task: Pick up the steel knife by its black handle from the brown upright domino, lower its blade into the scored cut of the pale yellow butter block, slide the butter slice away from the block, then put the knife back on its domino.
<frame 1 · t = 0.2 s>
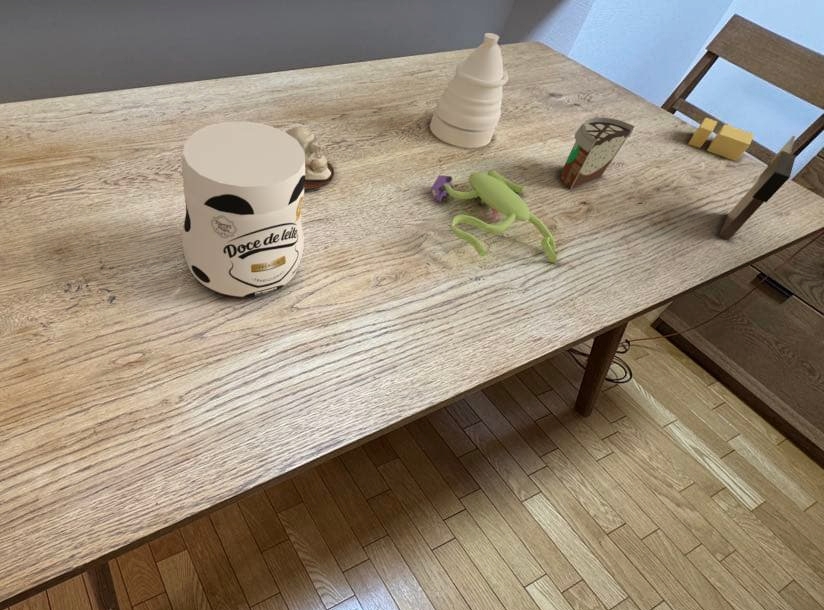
knife: (762, 188, 87), point 8 cm above the table, touching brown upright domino
figurine: (487, 227, 89), on the table
milk container: (243, 269, 78), on the table
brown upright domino: (726, 229, 94), on the table
food container: (571, 178, 101), on the table
butter block: (722, 152, 111), on the table
cream carved statuette: (300, 174, 94), on the table
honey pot: (459, 134, 107), on the table
butter slice: (695, 142, 113), on the table
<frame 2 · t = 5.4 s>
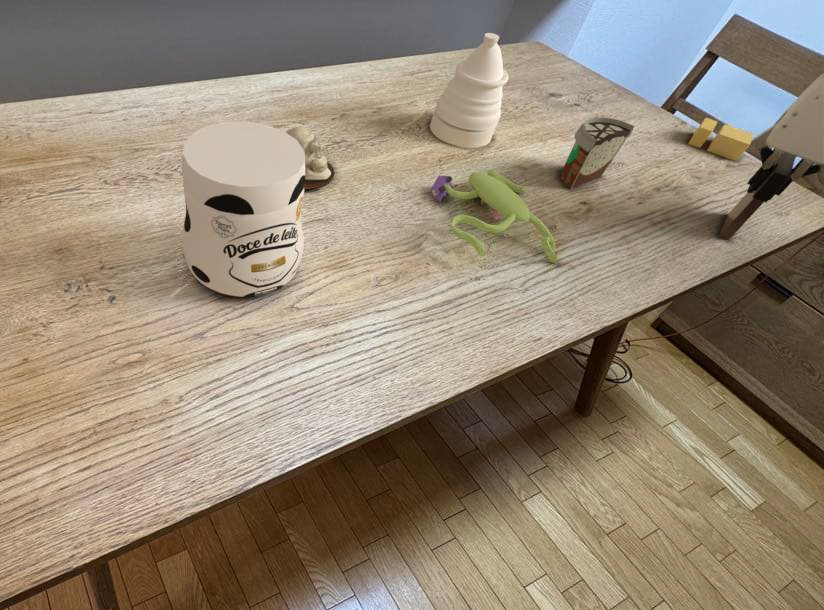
hand: (759, 192, 88), 7 cm above the table, tool pointing down, fingers closed on knife, 2 cm apart
knife: (762, 188, 87), point 8 cm above the table, touching gripper
everything else where it was.
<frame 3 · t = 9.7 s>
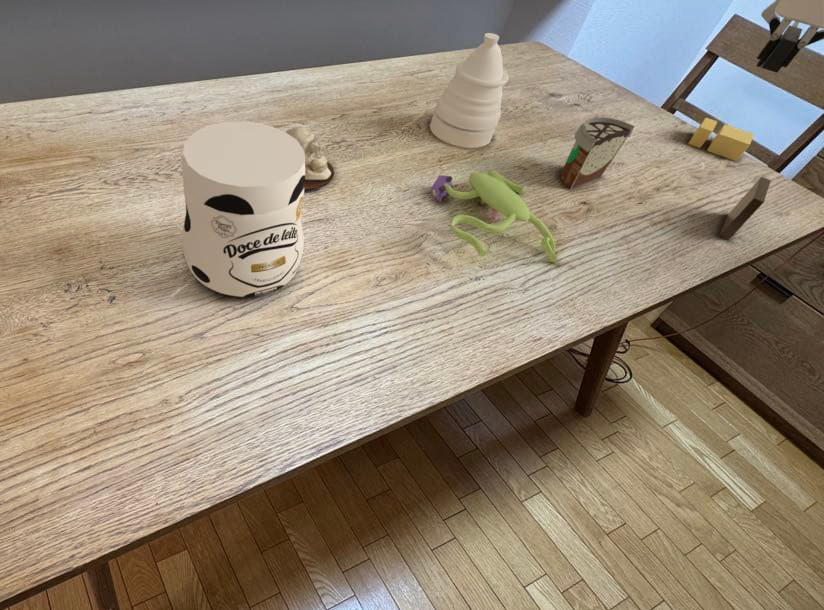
hand: (768, 66, 93), 18 cm above the table, tool pointing down, fingers closed on knife
knife: (771, 62, 93), point 19 cm above the table, touching gripper
everything else where it was.
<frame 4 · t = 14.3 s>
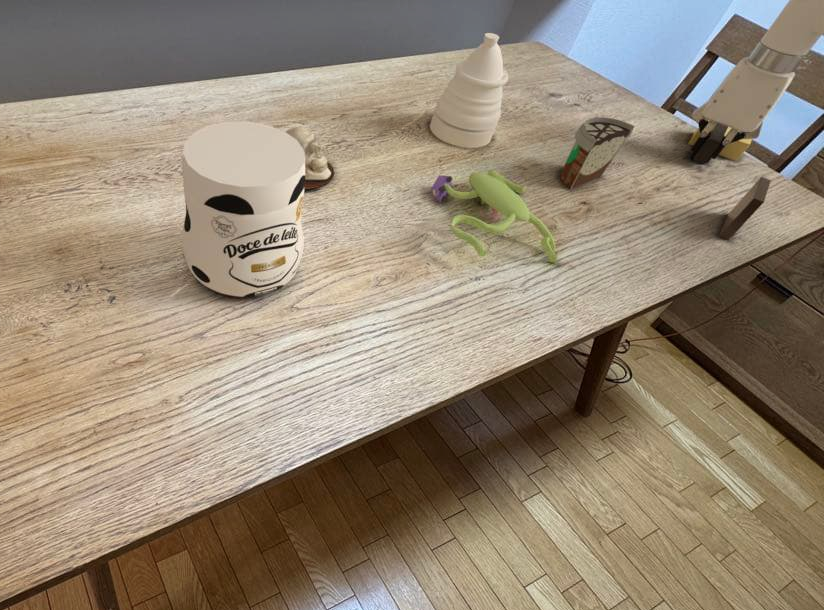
hand: (700, 157, 107), 1 cm above the table, tool pointing down, fingers closed on knife, 2 cm apart
knife: (702, 154, 107), point 2 cm above the table, touching gripper
everything else where it was.
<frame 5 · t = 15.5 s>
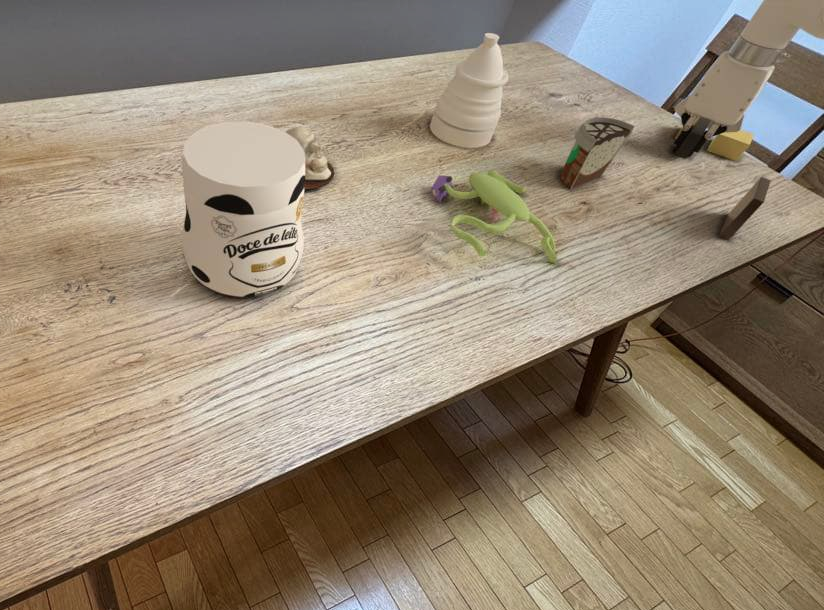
hand: (683, 150, 108), 1 cm above the table, tool pointing down, fingers closed on knife, 2 cm apart
knife: (685, 147, 108), point 2 cm above the table, touching butter slice, gripper
butter slice: (682, 138, 114), on the table, touching knife
everything else where it was.
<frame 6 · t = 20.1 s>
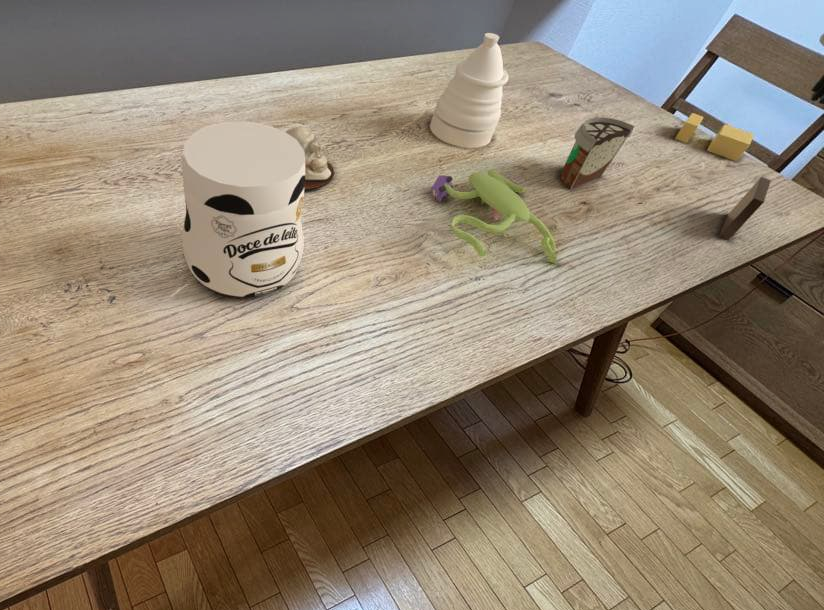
butter slice: (682, 138, 114), on the table
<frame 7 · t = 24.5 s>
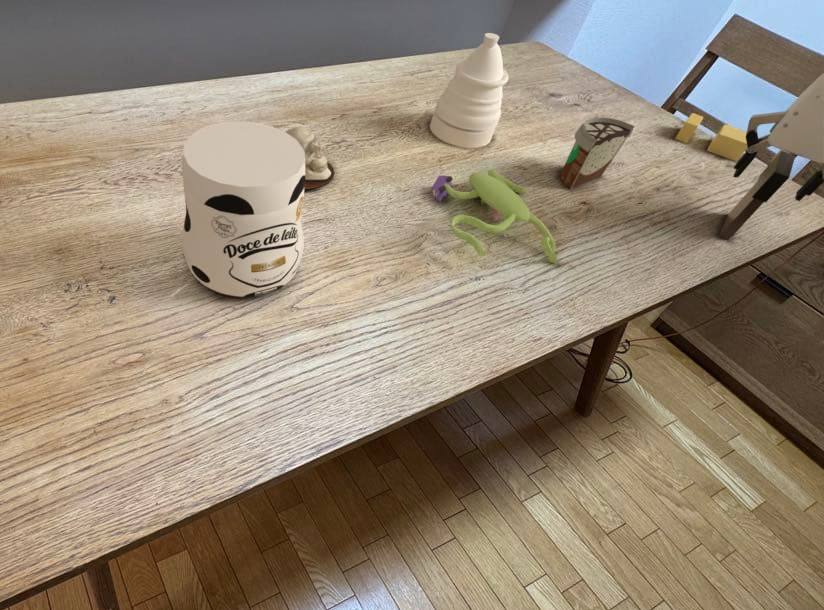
hand: (766, 185, 87), 9 cm above the table, tool pointing down, fingers open, 9 cm apart
knife: (762, 188, 87), point 8 cm above the table, touching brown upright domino
everything else where it was.
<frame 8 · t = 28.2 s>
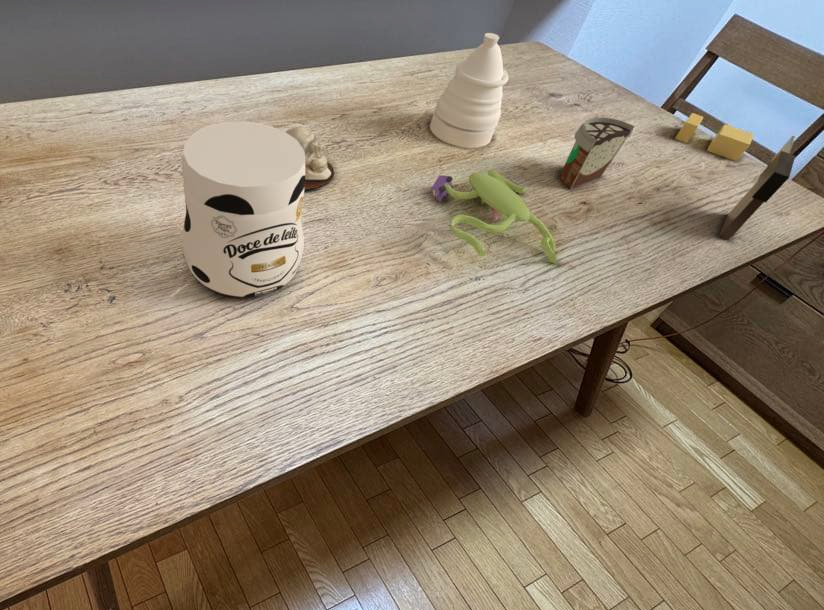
nothing on the table moved.
at the end: butter slice moved 2.9 cm from its start; butter block moved 0.0 cm from its start; the gripper is holding nothing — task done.
